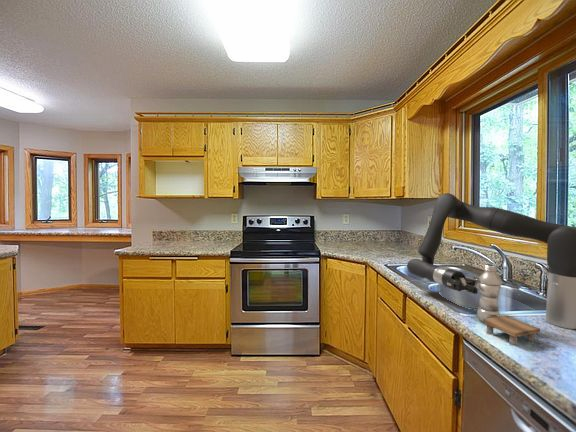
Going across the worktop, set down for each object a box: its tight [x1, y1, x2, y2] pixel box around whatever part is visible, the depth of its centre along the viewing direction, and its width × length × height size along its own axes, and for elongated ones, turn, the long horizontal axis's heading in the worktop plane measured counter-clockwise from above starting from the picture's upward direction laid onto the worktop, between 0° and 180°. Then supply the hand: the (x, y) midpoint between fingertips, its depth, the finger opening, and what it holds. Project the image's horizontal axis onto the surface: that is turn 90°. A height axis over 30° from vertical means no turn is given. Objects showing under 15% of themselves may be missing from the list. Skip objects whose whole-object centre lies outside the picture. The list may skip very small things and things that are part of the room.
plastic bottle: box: [476, 263, 503, 323], centre depth 100 cm, size 6×7×20 cm
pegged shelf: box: [482, 315, 541, 347], centre depth 90 cm, size 10×10×4 cm
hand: (486, 290), depth 101 cm, fingers open, 8 cm apart
